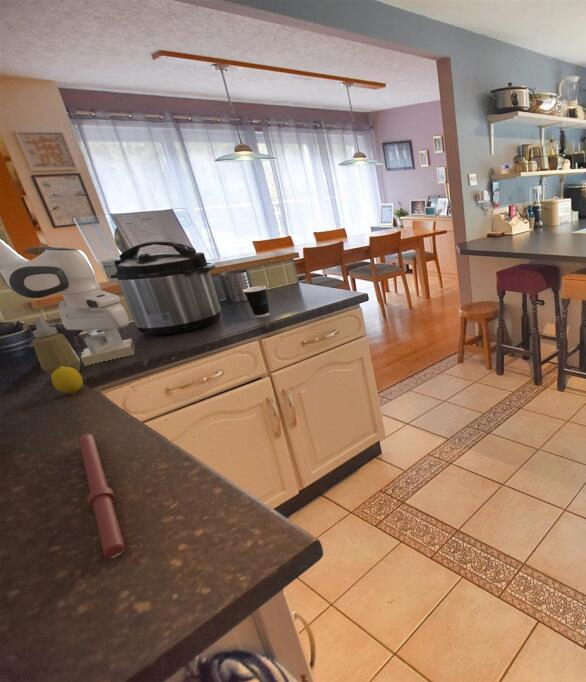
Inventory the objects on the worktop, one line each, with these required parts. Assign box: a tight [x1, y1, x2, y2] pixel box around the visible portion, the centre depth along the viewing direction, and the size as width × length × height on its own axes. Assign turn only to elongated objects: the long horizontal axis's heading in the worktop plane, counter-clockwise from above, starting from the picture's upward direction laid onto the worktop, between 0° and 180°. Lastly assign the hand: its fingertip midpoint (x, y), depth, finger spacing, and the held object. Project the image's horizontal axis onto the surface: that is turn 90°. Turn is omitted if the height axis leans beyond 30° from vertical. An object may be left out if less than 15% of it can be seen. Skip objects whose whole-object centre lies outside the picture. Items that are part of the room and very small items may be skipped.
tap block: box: [79, 338, 136, 367], centre depth 140 cm, size 13×13×3 cm
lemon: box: [50, 366, 84, 395], centre depth 114 cm, size 6×6×8 cm
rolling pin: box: [78, 433, 126, 559], centre depth 76 cm, size 45×3×3 cm, turn 47°
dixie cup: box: [242, 285, 270, 319], centre depth 170 cm, size 8×8×11 cm
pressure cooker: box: [110, 241, 222, 336], centre depth 162 cm, size 30×28×32 cm
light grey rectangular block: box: [83, 329, 123, 353], centre depth 139 cm, size 9×2×5 cm, turn 173°
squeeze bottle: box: [32, 316, 81, 377], centre depth 125 cm, size 8×8×18 cm
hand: (104, 341), depth 139 cm, fingers closed on light grey rectangular block, 2 cm apart
